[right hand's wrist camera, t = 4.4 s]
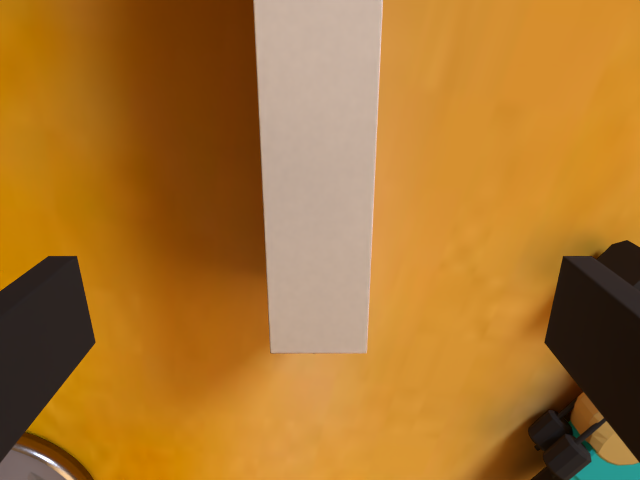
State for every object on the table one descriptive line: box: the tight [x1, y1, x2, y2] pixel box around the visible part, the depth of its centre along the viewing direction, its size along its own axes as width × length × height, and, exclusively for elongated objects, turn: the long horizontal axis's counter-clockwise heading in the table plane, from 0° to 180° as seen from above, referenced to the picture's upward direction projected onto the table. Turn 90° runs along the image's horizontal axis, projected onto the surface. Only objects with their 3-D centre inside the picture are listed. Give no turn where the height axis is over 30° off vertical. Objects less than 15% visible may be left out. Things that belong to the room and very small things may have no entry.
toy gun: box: [528, 240, 640, 480], centre depth 31 cm, size 4×26×15 cm
